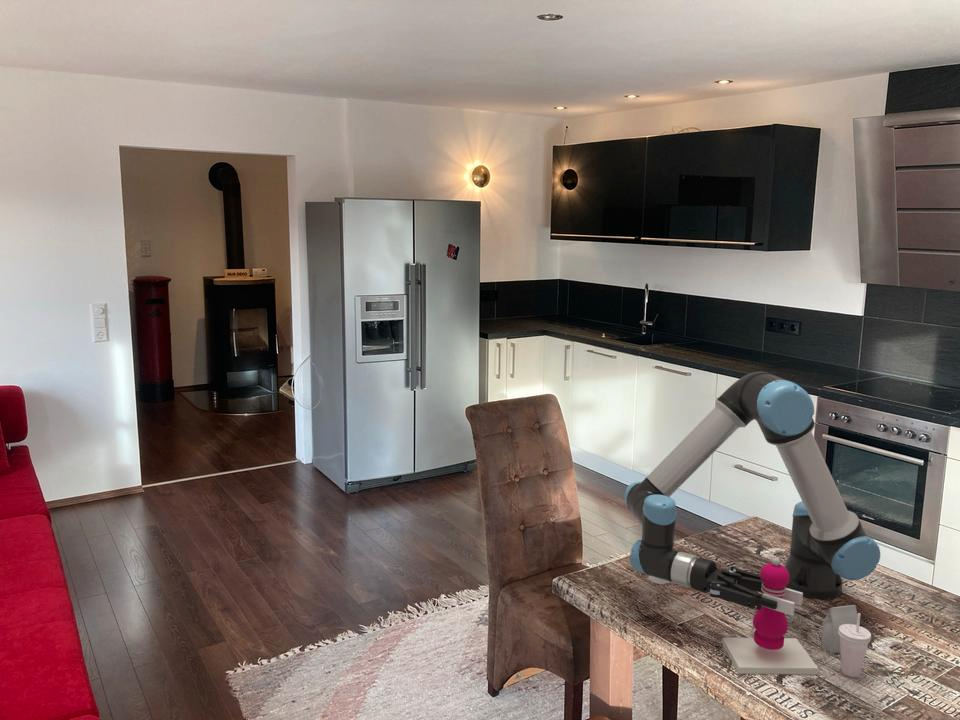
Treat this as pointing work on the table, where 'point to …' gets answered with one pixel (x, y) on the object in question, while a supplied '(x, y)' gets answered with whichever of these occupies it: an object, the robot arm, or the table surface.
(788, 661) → the cutting board
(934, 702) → the table surface
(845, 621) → the tea bag
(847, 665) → the smoothie
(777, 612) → the pepper mill
